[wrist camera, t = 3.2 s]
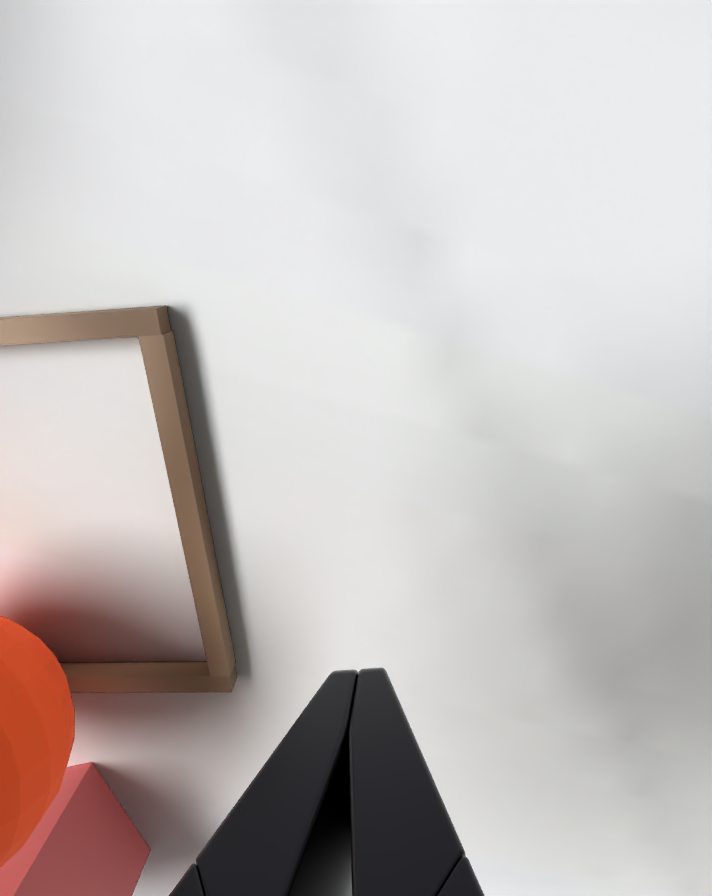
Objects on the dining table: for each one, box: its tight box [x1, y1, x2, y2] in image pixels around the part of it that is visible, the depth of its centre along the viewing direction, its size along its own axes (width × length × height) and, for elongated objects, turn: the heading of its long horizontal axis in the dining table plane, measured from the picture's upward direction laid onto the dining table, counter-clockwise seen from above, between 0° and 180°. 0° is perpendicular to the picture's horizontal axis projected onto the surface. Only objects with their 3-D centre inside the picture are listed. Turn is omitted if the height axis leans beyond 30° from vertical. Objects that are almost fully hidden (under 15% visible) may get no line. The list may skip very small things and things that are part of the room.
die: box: [0, 762, 150, 896], centre depth 18 cm, size 4×4×5 cm
